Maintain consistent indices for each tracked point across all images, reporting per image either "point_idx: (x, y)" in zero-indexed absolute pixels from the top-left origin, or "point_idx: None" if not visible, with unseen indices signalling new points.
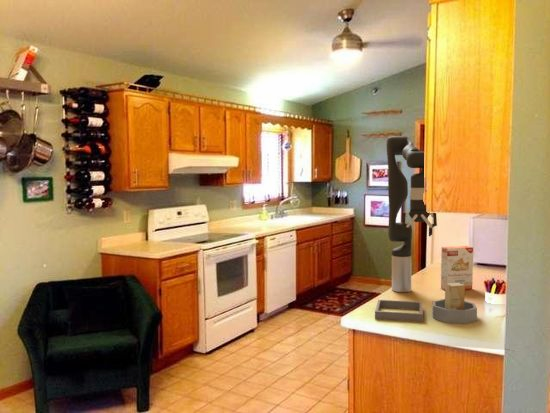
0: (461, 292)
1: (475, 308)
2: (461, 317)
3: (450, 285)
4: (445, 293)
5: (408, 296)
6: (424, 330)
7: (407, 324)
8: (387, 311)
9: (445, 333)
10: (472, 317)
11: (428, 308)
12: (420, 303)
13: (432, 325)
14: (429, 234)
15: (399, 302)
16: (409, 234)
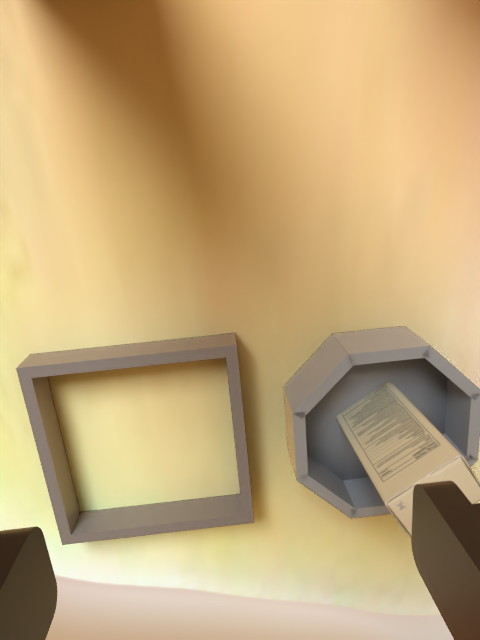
0: None
1: (470, 465)
2: None
3: (409, 533)
4: (367, 472)
5: (136, 90)
6: (263, 576)
7: (201, 540)
8: (111, 530)
9: (328, 580)
10: None
11: (264, 312)
12: (232, 372)
13: (287, 523)
14: (438, 589)
15: (129, 365)
16: (42, 631)
